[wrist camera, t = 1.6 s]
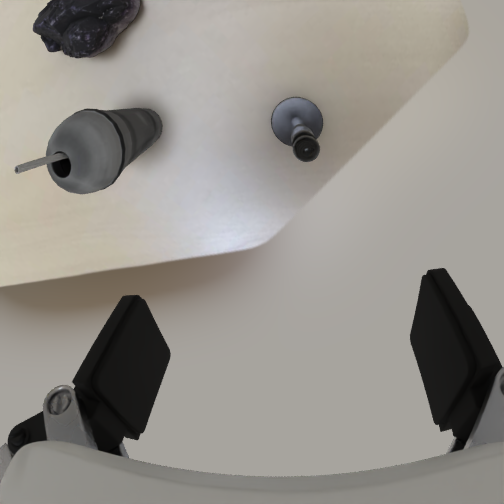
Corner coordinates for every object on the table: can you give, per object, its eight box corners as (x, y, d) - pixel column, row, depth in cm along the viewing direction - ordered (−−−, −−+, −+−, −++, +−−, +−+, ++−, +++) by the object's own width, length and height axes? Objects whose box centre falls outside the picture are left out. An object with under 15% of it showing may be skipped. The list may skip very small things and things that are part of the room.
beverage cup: (119, 157, 33) (3, 235, 16) (116, 99, 30) (-18, 140, 13) (174, 156, 33) (71, 243, 16) (173, 94, 29) (50, 123, 12)
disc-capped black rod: (328, 108, 28) (366, 130, 15) (310, 151, 31) (329, 207, 18) (282, 89, 28) (280, 92, 15) (264, 133, 31) (248, 175, 17)
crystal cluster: (60, -8, 21) (5, -7, 13) (144, -50, 19) (93, -69, 11) (69, 73, 29) (14, 89, 21) (154, 42, 26) (101, 44, 18)
